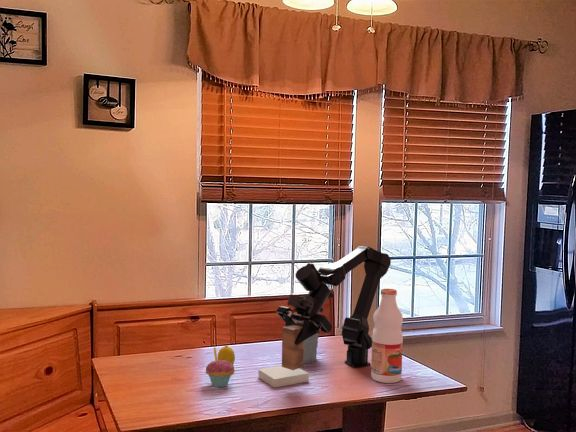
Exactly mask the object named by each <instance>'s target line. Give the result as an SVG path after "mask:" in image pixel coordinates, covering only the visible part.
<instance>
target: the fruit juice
mask: <svg viewBox="0 0 576 432" xmlns="http://www.w3.org/2000/svg"><path fill="white" fill-rule="evenodd" d="M380 295H381V299H380V303H379V306H378V307H377V309H375V311H374V313H373V315H372V316H373V319H372V321H373V326H374V327H373V330H372V334H371V338H372V347H371V360H370V361H371V362H370V363H371V365H370V367H371V368H370V376H371V379H372V380H373V381H376V382H378V383H382V384H383V383H384V384H393V383H398V382H400V381H401V380H402V374H403V373H402V371H403V370H402V369H403V368H402V366H403V343H404V342H403V338H404V337H403V335H404V334H403V331H402V326H403V323H404V322H403V320H404V317H403V313H402V312H401V310H400V308H399V307H398V303H397V300H396V297H397V296H398V290H396V289H394V288H382V289H380Z"/></svg>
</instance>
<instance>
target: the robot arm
mask: <svg viewBox="0 0 576 432" xmlns="http://www.w3.org/2000/svg"><path fill="white" fill-rule="evenodd" d="M391 262H392V260H391V257H390V256H389V254H388V253H386V252H381V251H379V250H376V249H374V248H373V247H371V246H367V245H358V246H357V247H356V248H355V249H354V250H353V251H350V253H348V254H347V255H345V256H344V257H342V258H341V259H339V260H338V261H335V262H331V263H327V264H324V265H322V266H320V268H319V269H317V268H316V265H315V264H314V263H311V262H307V263H306V265H304V266H302V267H300V268H299V269H297V271H296V272H295V278H296V280H297V281H298V283H299V284H300V285H301V286H302V288H303V289H304V290H305V291H307V294H305V295H303V296H300V295H296V294H291V293H290V294H289V297H288V300H287V303H286V305H288V306H292V307H293V310H294V311H295V312H296V313H295V312H294V311H293V310H292V308H291V307H288V306H284V305H281V306H280V305H279V306H278V308H277V309H276V311H275V313H276V314H277V315H278V317H279V318H280V319H281V320H282V321H283V322H284V323H285V324H284V325H285V326H289V325H296V322H300V321H302V322H303V328H302V329H301V331H300V333H299V335H298V337H297V338H296V341H295V344H296V345H298V344H300V343H301V342H303V341H304V340H306V339H307V338H309V337H311V336H313V335H315V334H316V333H318V334H319V335H320V332H322V333H325V334H330V333H331V332H332V330H333V329H332V328H333V325H332V322H330V320H329V318H327V316H326V315H323V314H320V313H323V311H324V308H323V306H324V304H325V303H326V301H327V299H328V298H332V299H333V298H335V295H334V293H333V288H330V287H329V286H333V287H338V286H340V285H341V284H342V283H343V282H344V281H345V280H346V278H347V277H346V275H347V274H348V273H349V272H350V273H351V271H352V270H354V269H356V267H359V265H361V264H362V263H364V264H363V268H364V269H363V270H364V271H365V277H364V279H363V282H362V285H361V288H360V292H359V294H358V297H357V301H356V304H355V307H354V310H353V313H352V315H350V317H348V316H347V317H345V318H344V322H343V324H342V325H341V326H342V327H341V336H342V341H343V344H344V345H346V346H347V350H346V360H344V363H345V364H347V365H350V366H352V367H354V368H360V367H365V366H371V362H369V360H368V359H369V350H370V349H372V336H370V334H369V330H370V326H369V322H368V317H369V315H370V311H371V309H372V305H373V302H374V298H375V296H376V292H377V289H378V285H379V283H380V280H381V279H382V278H383V277H384V276H385V275H386V274H387V272H388V271H389V268H390V266H391ZM285 326H284V327H285Z"/></svg>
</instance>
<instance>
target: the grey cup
mask: <svg viewBox="0 0 576 432" xmlns="http://www.w3.org/2000/svg"><path fill="white" fill-rule="evenodd" d="M296 325H297V326H301V327H303V322H302V321H296ZM319 336H320V333H319V334H318V333H316V334H315V335H313V336H311V337H309V338H307V339H306V340H304V347H303V364H304V363H305V364H306V363H307V364H308V363H313V362H315V361H316V360H317V353H318V352H317V350H318V343H319Z"/></svg>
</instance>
